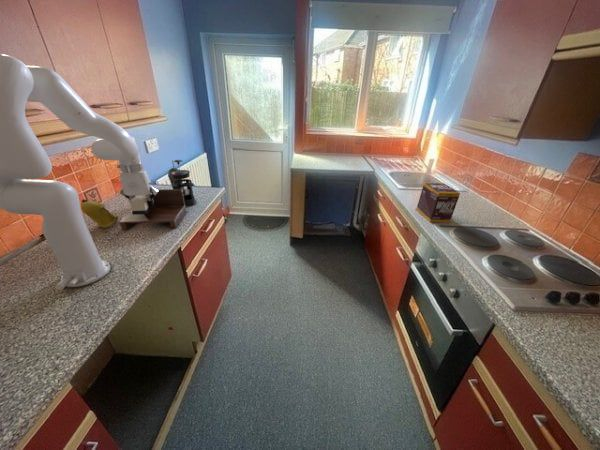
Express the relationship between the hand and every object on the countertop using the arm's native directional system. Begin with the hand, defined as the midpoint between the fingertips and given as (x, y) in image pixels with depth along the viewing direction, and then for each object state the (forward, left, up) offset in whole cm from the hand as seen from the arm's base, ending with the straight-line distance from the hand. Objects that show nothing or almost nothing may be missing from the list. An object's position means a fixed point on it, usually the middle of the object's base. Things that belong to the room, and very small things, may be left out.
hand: (144, 207), depth 110 cm
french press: (+21, -11, -8) cm, 25 cm away
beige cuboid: (+1, 0, -1) cm, 1 cm away
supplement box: (-3, -139, -8) cm, 139 cm away
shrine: (-3, +16, -8) cm, 18 cm away
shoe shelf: (+2, -3, -7) cm, 8 cm away
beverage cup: (+34, -4, -8) cm, 35 cm away
